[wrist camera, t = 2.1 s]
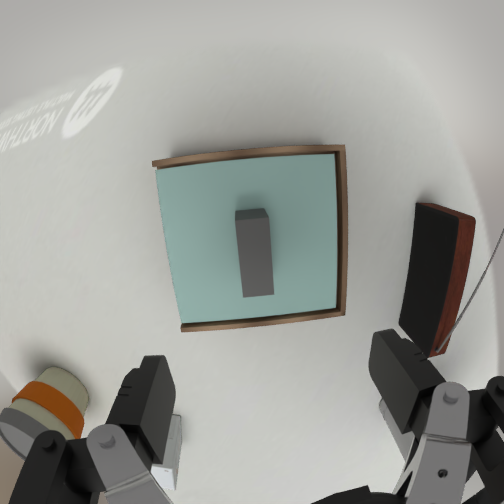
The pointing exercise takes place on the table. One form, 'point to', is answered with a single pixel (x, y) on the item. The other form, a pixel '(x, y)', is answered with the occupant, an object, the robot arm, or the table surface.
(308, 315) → the walnut box
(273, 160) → the cover plate
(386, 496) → the robot arm
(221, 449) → the table surface
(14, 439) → the reusable coffee cup
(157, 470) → the small box
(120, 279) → the table surface
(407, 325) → the radio
